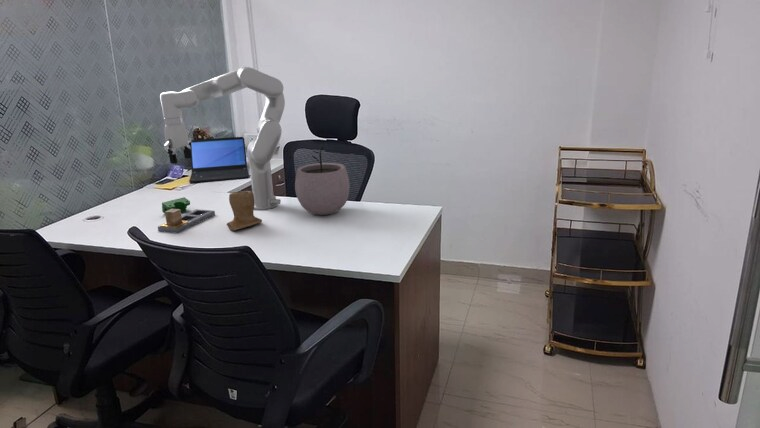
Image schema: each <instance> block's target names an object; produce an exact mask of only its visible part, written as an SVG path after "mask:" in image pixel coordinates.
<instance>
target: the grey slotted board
mask: <svg viewBox="0 0 760 428" xmlns="http://www.w3.org/2000/svg"><path fill="white" fill-rule="evenodd" d="M198 214H202V215H198ZM214 216H216V211H215V210H208V209H198V208H197V209H194V210H192V211H190V212H187V213H185V214H183V215H182V214H181V217H182V223H181V224H179V225H177V226H169V225H167V223H166V222H165V223H162V224H160V225H158V226H157V230H158V232H164V231H165V232H166V233H173V234H174V233H175V234H176V233H177V234H178V233H181V232H183V231H184V230H187V229H189V228H191V227H193V226H195V225H197V224H199V222H200V223H201V221H202V222H204V221H205V219H206V220H208V219H210V218H212V217H214ZM207 218H208V219H207ZM185 220H186V221H185ZM203 220H204V221H203Z"/></svg>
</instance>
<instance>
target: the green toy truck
mask: <svg viewBox="0 0 760 428" xmlns="http://www.w3.org/2000/svg"><path fill="white" fill-rule="evenodd" d="M190 205H191V200H189V199H187V198H186V197H179V198H175V199H171V200H167V201H164V202H162V203H161V210H162V213H163V214H165V211H168V210H170V209H180V210H181V212H184V213H186V212H187V207H188V206H190Z"/></svg>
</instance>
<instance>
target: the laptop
mask: <svg viewBox="0 0 760 428" xmlns="http://www.w3.org/2000/svg"><path fill="white" fill-rule="evenodd" d="M245 143H246V142H245V138H244V137H243V136H233V137H220V138H219V137H218V138H217V137H216V138H205V139H203V138H202V139H201V138H200V139H192V140H191V149H190V151H191V157H192V158H190V165H191V174H190V178H189V183H190V184H198V183H208V182H211V183H212V182H220V181H231V180H232V181H233V180H243V179H248V178H249V177H250V175H249V170H248V162H247V150H246V144H245Z"/></svg>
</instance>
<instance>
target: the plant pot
mask: <svg viewBox="0 0 760 428" xmlns="http://www.w3.org/2000/svg"><path fill="white" fill-rule="evenodd" d="M323 148H324V146H321V148H320V151H318V152H317V151H314V150H313V153H315V154H319V159H318V158H317V157H316V156H314V155H312V154H311V156H312V158H313V159H316V162H317V163H308V164H305V165H301V166H298V167H297V169H296V173H295V179H294V190H295V195H296V199H297V200H298V202H299V204H300V206H301V207H302V208H303V209H304V210H306V212H309V213H311V214H312V215H316V216H327V215H331V214H334V213H337V212H338V211H340V210H342V208H343V207H344V206H345V205H346V204H347V201H348V199H349V194H350V189H351V187H350V185H351V184H350V178H349V174H348V170H347V167H346V165H344V164H342V163H339V162H322V151H323Z"/></svg>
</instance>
